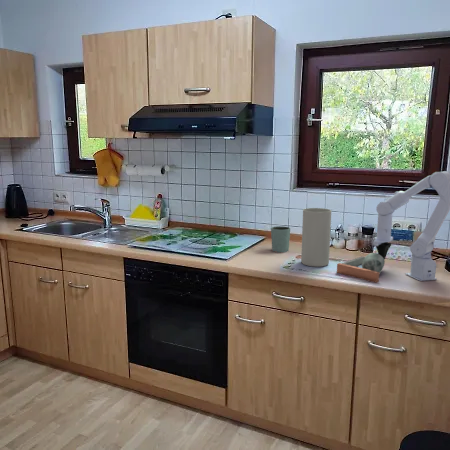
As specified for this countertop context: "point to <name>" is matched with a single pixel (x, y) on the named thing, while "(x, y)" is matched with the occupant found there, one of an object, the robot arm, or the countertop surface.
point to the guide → (357, 270)
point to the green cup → (280, 238)
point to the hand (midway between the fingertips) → (381, 259)
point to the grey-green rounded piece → (373, 262)
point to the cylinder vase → (316, 237)
